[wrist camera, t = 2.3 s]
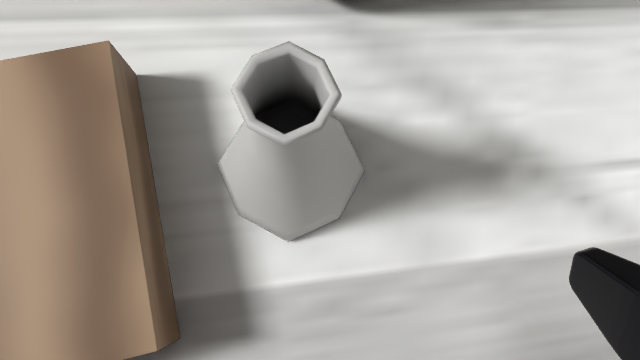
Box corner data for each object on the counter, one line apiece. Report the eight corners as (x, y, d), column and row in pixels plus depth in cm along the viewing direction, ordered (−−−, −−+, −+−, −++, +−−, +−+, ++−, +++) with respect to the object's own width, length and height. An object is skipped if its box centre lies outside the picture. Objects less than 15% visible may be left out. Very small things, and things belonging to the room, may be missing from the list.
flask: (193, 164, 23) (115, 82, 13) (295, 79, 24) (293, -54, 14) (286, 267, 22) (277, 261, 12) (387, 172, 23) (451, 98, 14)
